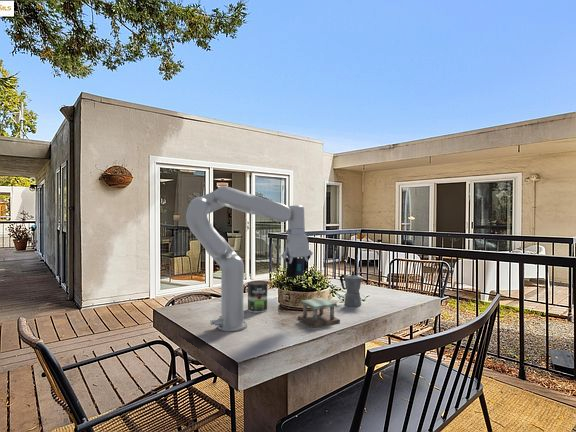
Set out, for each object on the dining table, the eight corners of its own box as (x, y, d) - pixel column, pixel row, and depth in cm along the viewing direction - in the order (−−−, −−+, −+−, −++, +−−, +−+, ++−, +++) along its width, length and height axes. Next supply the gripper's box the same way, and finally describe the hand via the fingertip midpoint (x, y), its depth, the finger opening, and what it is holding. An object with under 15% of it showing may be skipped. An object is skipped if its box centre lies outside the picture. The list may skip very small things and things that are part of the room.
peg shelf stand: (313, 327, 149) (313, 307, 149) (297, 318, 161) (297, 300, 161) (339, 322, 155) (339, 303, 155) (322, 314, 168) (322, 297, 168)
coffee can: (269, 311, 173) (269, 284, 173) (249, 313, 170) (249, 285, 170) (265, 306, 183) (265, 280, 183) (246, 308, 180) (246, 281, 180)
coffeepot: (368, 305, 186) (368, 272, 186) (358, 308, 179) (358, 274, 179) (345, 300, 197) (345, 268, 197) (334, 303, 190) (334, 270, 190)
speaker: (293, 278, 151) (293, 254, 152) (285, 277, 156) (286, 254, 157) (306, 277, 156) (307, 254, 156) (299, 276, 160) (299, 254, 161)
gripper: (283, 233, 150) (284, 274, 150) (317, 231, 158) (318, 270, 158) (276, 233, 156) (277, 272, 156) (308, 231, 164) (309, 268, 164)
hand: (297, 270), depth 157 cm, fingers closed on speaker, 6 cm apart
